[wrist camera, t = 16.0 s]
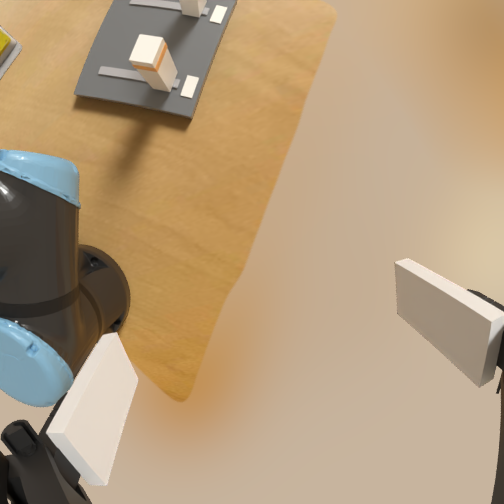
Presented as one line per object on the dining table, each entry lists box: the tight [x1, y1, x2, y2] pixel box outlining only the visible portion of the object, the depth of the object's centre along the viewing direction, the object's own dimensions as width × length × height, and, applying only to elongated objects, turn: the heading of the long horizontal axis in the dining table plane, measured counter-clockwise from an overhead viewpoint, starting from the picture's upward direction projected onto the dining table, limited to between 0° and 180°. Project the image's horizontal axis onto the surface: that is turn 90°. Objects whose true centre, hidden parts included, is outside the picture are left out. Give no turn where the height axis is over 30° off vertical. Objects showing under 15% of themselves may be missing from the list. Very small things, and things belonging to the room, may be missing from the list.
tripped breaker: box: [129, 34, 178, 92], centre depth 30 cm, size 3×3×12 cm
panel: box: [74, 0, 237, 119], centre depth 36 cm, size 18×20×2 cm
